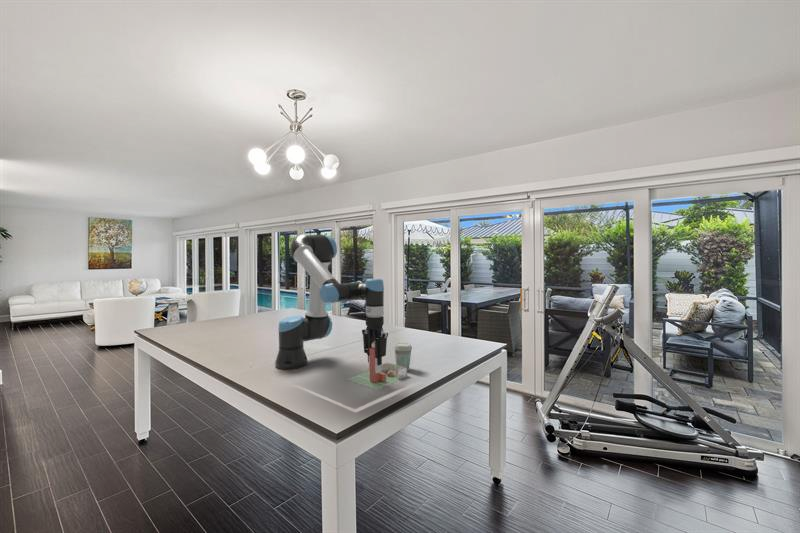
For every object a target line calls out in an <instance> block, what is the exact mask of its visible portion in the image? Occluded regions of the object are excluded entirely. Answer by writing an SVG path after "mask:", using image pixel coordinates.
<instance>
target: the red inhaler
mask: <svg viewBox="0 0 800 533" xmlns="http://www.w3.org/2000/svg"><path fill="white" fill-rule="evenodd" d="M371 346H372V347H371V348H369V349H370V381H371V382H374V383H375V382H378V381H382V382H384V381H386V376H387V373H386V372H379V373H375V357H376V347H375V341H374V342H373V343H372V345H371Z"/></svg>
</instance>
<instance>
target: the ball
mask: <svg viewBox="0 0 800 533" xmlns="http://www.w3.org/2000/svg"><path fill="white" fill-rule="evenodd" d="M386 372H387V373H386V376H388V377H391V378H394V377H396V373H394V371H393V370H389V371H386Z"/></svg>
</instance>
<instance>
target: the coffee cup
mask: <svg viewBox="0 0 800 533" xmlns="http://www.w3.org/2000/svg"><path fill="white" fill-rule="evenodd" d="M393 349H394V355H395V356H394V357H395V364H396V365H400V366H404V367H407V372H408V371H410V365H411V355H412V349H413V348H412V344H411V343H408V342H398V343H395V344H394V346H393Z"/></svg>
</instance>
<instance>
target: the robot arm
mask: <svg viewBox="0 0 800 533" xmlns="http://www.w3.org/2000/svg"><path fill="white" fill-rule="evenodd" d="M337 247H338V245H337V242H336V241H335V239H334V238H333V237H332V236H330V235H325V234H306V233H305V234H299V235H298V236H296V237H295V238H294V239H293V240H292V241H291V243H290V247H289V252H290V255H291V258H292V259H293V260H294V261H295V262H296V263H298V264H300V265H301V267H302V268H303V269H304V270H305V272H306V273H307V274H308V276H310V280H309V293H308V294H309V296H308V297H309V298H308V309H307V311H306V312H305V314H304V315H305V316H304V317H303V316H302V315H292V316H288V317H284V318H282V319H281V320H280V321H278V352H277V355H276V359H275V362H274V365H275V368H277V369H279V370H280V369H281V370H294V369H299V368H302V367H305V366H306V365H307V364H308V357H307V354H306V352H305V348H304V345H305V344H304V342H308V341H315V340H322V339H324V338H327V337H329V335H331V333H332V330H333V321H332V318H331V317H330V315H329V313H328V312H327V309H326V307H327V306H326V305H327V304H329V303H330V304H333V303H334V304H335V303H341V302H348V301H349V302H350V301H358V300H359V301H365V315H366V316H365V326H366V328H365V329H362V330H361V333H362V341H363V353H364V354H366V355H367V362H368V372H369V371H370V349H369V348H371V347H372V346H371V345H372V343H373V342H375V347H376V357H375V373H379V372H381V365H382V363H383V357H385V356H386V354H387V343H388V342H387V341H388V337H389V333H388V332H385V331H384V328H383V325H384V323H385V322H384V312H385V311H384V310H385V307H384V302H385V300H384V299H385V298H384V297H385V294H384V293H385V292H384V290H385V288H384V287H385V286H384V280H383V279H381V278H367V279H366V280H365V282H360V281H352V282H347V283H344V282H343V283H340V282H339V281H338V280H337V279H336V277H334V276H333V274H332V273H331V272H330V270H329V265H331V263H332V259H334V258H335V257H336V256H337V253H338V248H337Z"/></svg>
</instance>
